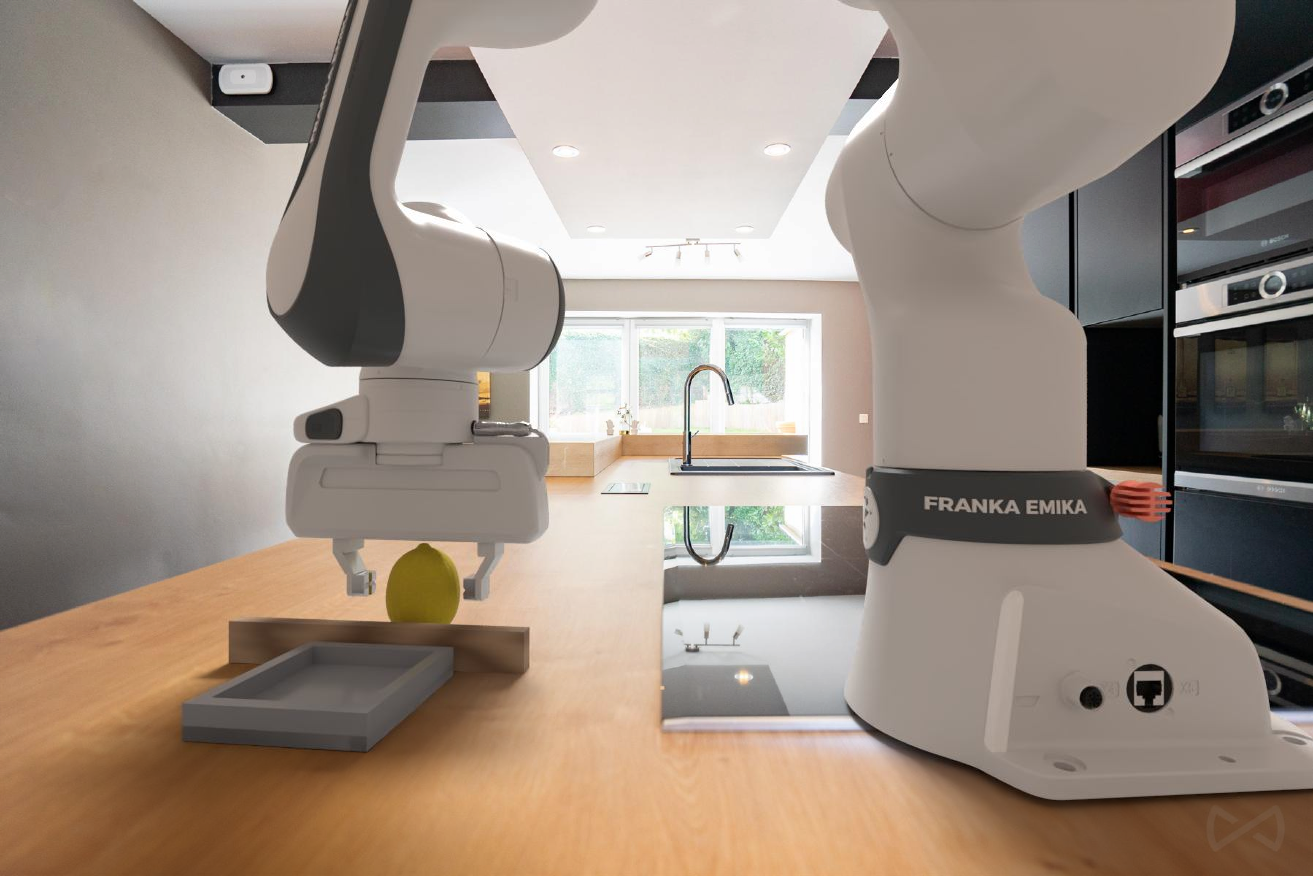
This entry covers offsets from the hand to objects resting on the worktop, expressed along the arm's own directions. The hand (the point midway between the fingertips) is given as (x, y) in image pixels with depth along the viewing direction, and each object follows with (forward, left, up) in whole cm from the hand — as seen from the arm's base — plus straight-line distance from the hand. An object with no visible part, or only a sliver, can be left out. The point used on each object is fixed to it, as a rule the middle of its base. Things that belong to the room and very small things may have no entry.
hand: (418, 597), depth 50 cm
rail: (+1, +5, -4) cm, 6 cm away
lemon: (0, 0, -4) cm, 4 cm away
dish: (0, +11, -4) cm, 12 cm away
